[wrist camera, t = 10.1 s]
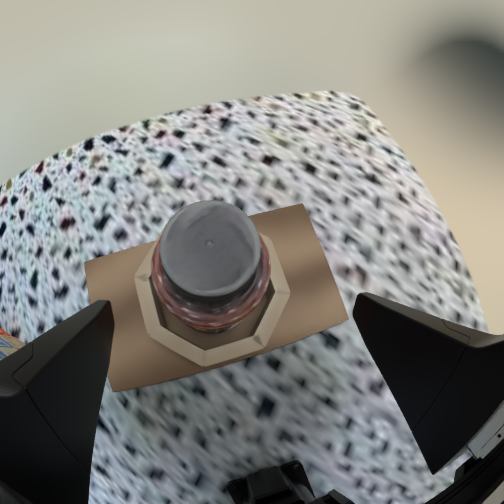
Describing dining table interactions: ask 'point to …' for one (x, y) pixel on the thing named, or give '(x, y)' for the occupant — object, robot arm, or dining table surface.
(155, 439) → the dining table surface
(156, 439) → the dining table surface
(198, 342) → the collar board
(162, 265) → the supplement bottle
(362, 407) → the dining table surface
